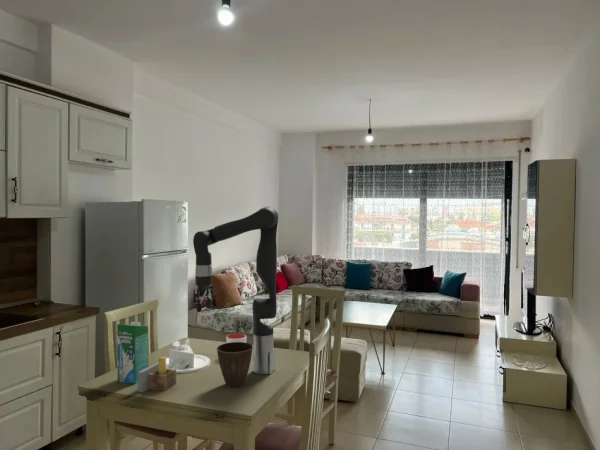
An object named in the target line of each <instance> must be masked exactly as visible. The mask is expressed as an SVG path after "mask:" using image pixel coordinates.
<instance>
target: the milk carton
mask: <svg viewBox="0 0 600 450" xmlns="http://www.w3.org/2000/svg"><path fill="white" fill-rule="evenodd" d="M116 328H117V329H116V330H117V331H116V337H117V339H116V341H117V344H116V345H117V349H116V350H117V351H116V352H117V382H118V383H119V382H120V383H125V384H131V385H132V384H134V385H135V384H138V372H139V371H141V370H143V369H145V368H147V367H149V326H148V325H141V322H140V321H139V322H137V321H131V322H130V324H125V323H117V325H116Z"/></svg>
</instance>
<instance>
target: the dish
mask: <svg viewBox="0 0 600 450" xmlns="http://www.w3.org/2000/svg"><path fill="white" fill-rule="evenodd" d="M190 344H191V340H190V338H188V339H186V340H185V342H184V344H181V343H180V341H179V340H178V341H177V340H176V341H174V342H173V343H172V345H171V347H174V348H171V349H168V357H167V356H166V369H173V370H176V374H187V373H188V374H189V373H194V372H198V371H202V370H204V369H206V368H208V367H209V366H210V365H211V359H210V358H209V357H207V356H205V355H202V354H195V353H194V351H193V350H192V348H191V346H190Z"/></svg>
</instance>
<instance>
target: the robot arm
mask: <svg viewBox="0 0 600 450" xmlns="http://www.w3.org/2000/svg"><path fill="white" fill-rule="evenodd" d="M278 223H279V213H278V212H277V210H276V209H275V208H274V206H273V207H272V206H264V207H262V208H260V209H258V210H257V211H256V212H254V213H252V214H250V215H248V216H246V217H243V218H240V219H237V220H232V221H228V222H226V223H221V224H218V225H216V226H215V227H213V228H211V229H207V230H200V231H196V232H195V234H194V235H193V239H192V244H193V249H194V253H195V271H194V273H195V274H194V275H195V278H194V279H195V280H194V281H195V286H197V289H196V288H194V289H193V294H192V296H193V301H192V303H194V304H196V312H197V313H201V312H202V311H203V307H202V303H203V300H204V299H206V300H205V302H206V304H205V308H206V309H211V308H212V300H213V299H214V298H215V289H214V285H213V267H212V253H211V252H210V251H209V246H211V245H214V244H216V243H218V242H221V241H225V240H228V239H231V238H235V237H236V236H239V235H241V234H243V233H244V234H245V233H248V232H250V231H258V230H260V238H259V239H260V240H259V243H258V247H257V252H256V259H255V263H256V265H255V269H256V273H257V275H258V277H259V279H260V280H261V281H262V283H263V285H264V286H265V288H266V290H267V293H268V297H267V298H255V299H253V302H252V325H253V327H252V328H253V329H252V331H253V333H252V334H253V338H252V339H253V340H252V341H253V342H252V346H253V348H252V355H253V356H252V357H253V364H252V365H253V367H252V368H253V373H255V374H257V375H271V374H272V373H273V372H274V371H276V349H274V327H273V326H271V325H269V324H266V323H263V322H262V321H261V320H269V319H275V318H276V316H277V313H278V310H277V267H278V265H277V264H278V262H277V261H278V255H277V251H278V250H277V247H278V246H277V234H278V233H277V231H278Z"/></svg>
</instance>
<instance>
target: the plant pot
mask: <svg viewBox="0 0 600 450" xmlns="http://www.w3.org/2000/svg"><path fill="white" fill-rule="evenodd" d="M216 351H217V358H218V364H219V367H220V370H221V374H222V377H223V379H224V382H225V385H226V386H227V387H228V388H233V389H236V388H240V387H243V386H244V385H245V383H246V381H247V376H248V374H249V371H250V367H251V361H252V357H253V356H252V355H253V344H251V343H249V342H246V343H244V342H231V343H227V342H225V343H221V344H219V345H217V347H216Z"/></svg>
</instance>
